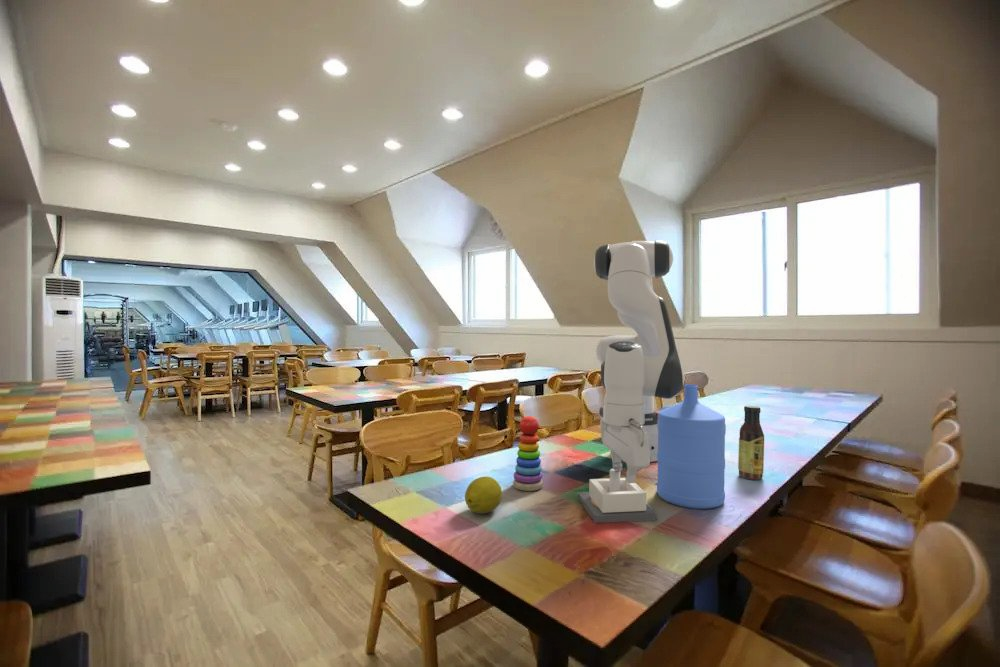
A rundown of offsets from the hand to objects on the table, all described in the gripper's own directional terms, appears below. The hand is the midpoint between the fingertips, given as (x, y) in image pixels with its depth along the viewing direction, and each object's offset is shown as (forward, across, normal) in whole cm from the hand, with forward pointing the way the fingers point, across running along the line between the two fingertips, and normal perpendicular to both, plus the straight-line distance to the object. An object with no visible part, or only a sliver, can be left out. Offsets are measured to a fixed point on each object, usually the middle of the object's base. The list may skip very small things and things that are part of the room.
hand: (623, 476), depth 104 cm
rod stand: (+9, +5, 0) cm, 10 cm away
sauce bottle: (+9, +21, -45) cm, 51 cm away
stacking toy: (+9, +21, +18) cm, 29 cm away
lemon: (+9, +6, +31) cm, 33 cm away
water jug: (+9, +9, -21) cm, 24 cm away
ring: (+7, +4, 0) cm, 8 cm away
